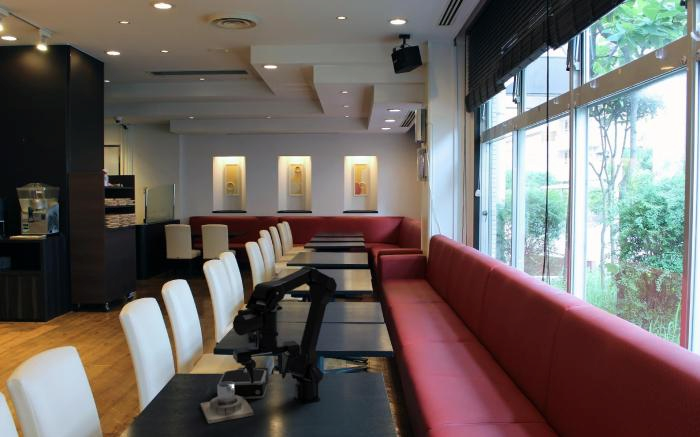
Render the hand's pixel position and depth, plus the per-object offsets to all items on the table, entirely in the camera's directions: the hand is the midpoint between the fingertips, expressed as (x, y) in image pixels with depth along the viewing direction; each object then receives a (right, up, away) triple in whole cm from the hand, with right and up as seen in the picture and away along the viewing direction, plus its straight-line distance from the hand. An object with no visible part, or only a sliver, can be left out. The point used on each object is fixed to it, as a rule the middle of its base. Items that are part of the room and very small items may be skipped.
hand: (267, 380), depth 154 cm
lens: (-13, -10, +6) cm, 17 cm away
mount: (-13, -11, +6) cm, 18 cm away
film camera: (-11, -10, +22) cm, 27 cm away
